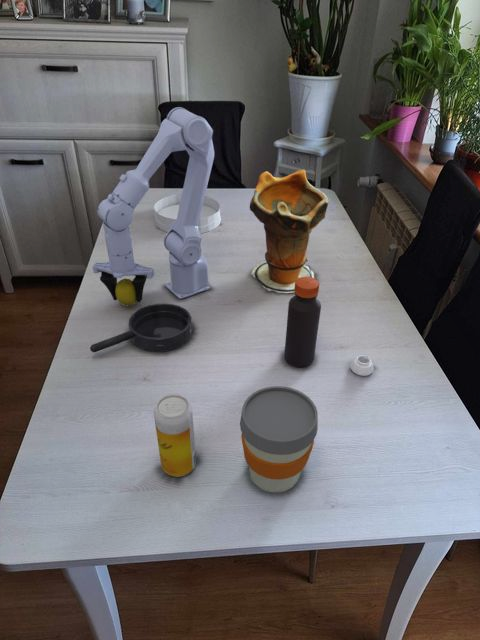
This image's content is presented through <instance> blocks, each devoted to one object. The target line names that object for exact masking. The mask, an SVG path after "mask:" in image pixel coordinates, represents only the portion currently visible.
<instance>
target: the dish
mask: <svg viewBox="0 0 480 640" xmlns="http://www.w3.org/2000/svg"><path fill="white" fill-rule="evenodd" d="M181 196H182V193H180V194H174V195H168V196H166V197H163V198H161V199H159V200H157V201H156V202H155V204H154V207H153V210H154V223H155V225H156V227H157V228H158V229H159V230H161V231H163V232H166V233H168V231H169V229H170V225H171V224H172V223H173V222H175V221H176V220H177V215H178V210H179V205H180V201H181ZM220 224H221V207H220V204H219V202H218V201H217V200H215V199H214V198H212V197H210V196H207V195H205V198H204V202H203V206H202V211H201V215H200V219H199V224H198V229H199V232H200V235H201V234H206V233H209V232H211V231H213V230H215V229H216V228H218V226H220Z"/></svg>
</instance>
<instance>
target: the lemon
mask: <svg viewBox="0 0 480 640" xmlns="http://www.w3.org/2000/svg"><path fill="white" fill-rule="evenodd" d="M132 281H133V279H130V278H126V277H125V278H121V279H120V280H119V281H117V285H116V289H115V293H116V297H117V300H116V301H118V303H119V304H120V305H122V306H126V307H131V306H132V305H135V304H136V303H137V300H136V292H135V289H134V286H133V284H132Z"/></svg>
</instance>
